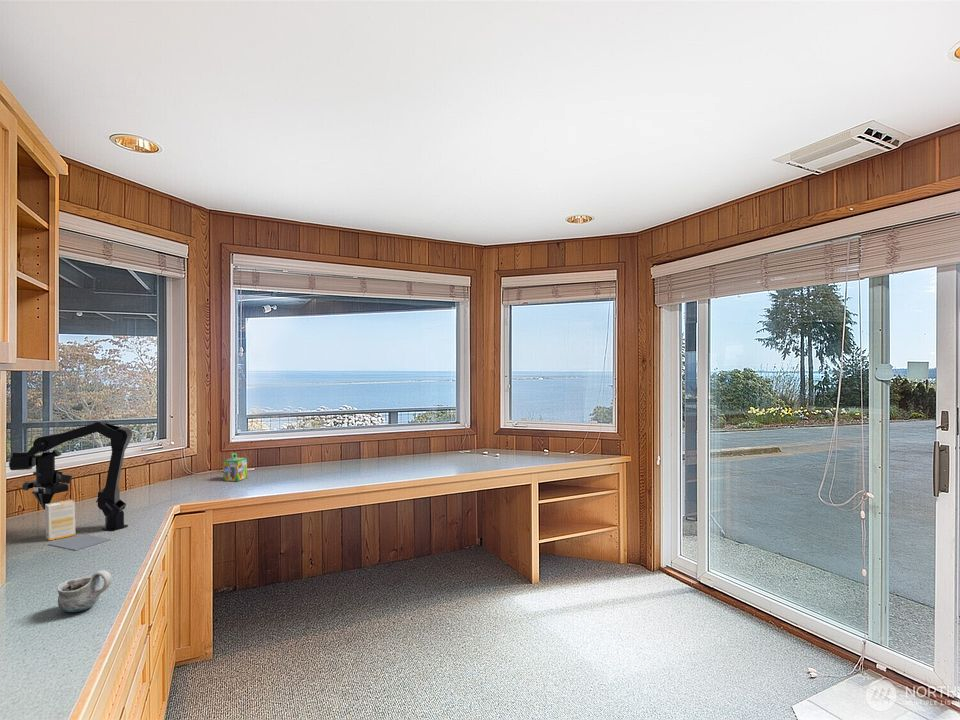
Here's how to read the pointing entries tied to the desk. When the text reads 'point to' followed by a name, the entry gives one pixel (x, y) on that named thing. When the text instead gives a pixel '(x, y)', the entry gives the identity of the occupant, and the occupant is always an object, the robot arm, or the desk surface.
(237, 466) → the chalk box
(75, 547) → the mat
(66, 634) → the desk surface
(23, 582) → the desk surface
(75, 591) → the mug
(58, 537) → the supplement box
